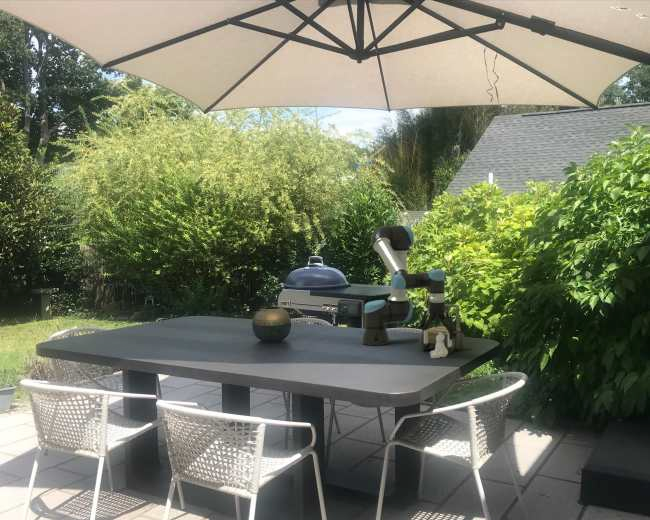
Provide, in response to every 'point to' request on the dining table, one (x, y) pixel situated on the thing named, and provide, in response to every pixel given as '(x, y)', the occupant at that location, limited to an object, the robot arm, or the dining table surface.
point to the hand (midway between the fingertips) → (437, 344)
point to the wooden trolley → (457, 336)
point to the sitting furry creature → (439, 347)
